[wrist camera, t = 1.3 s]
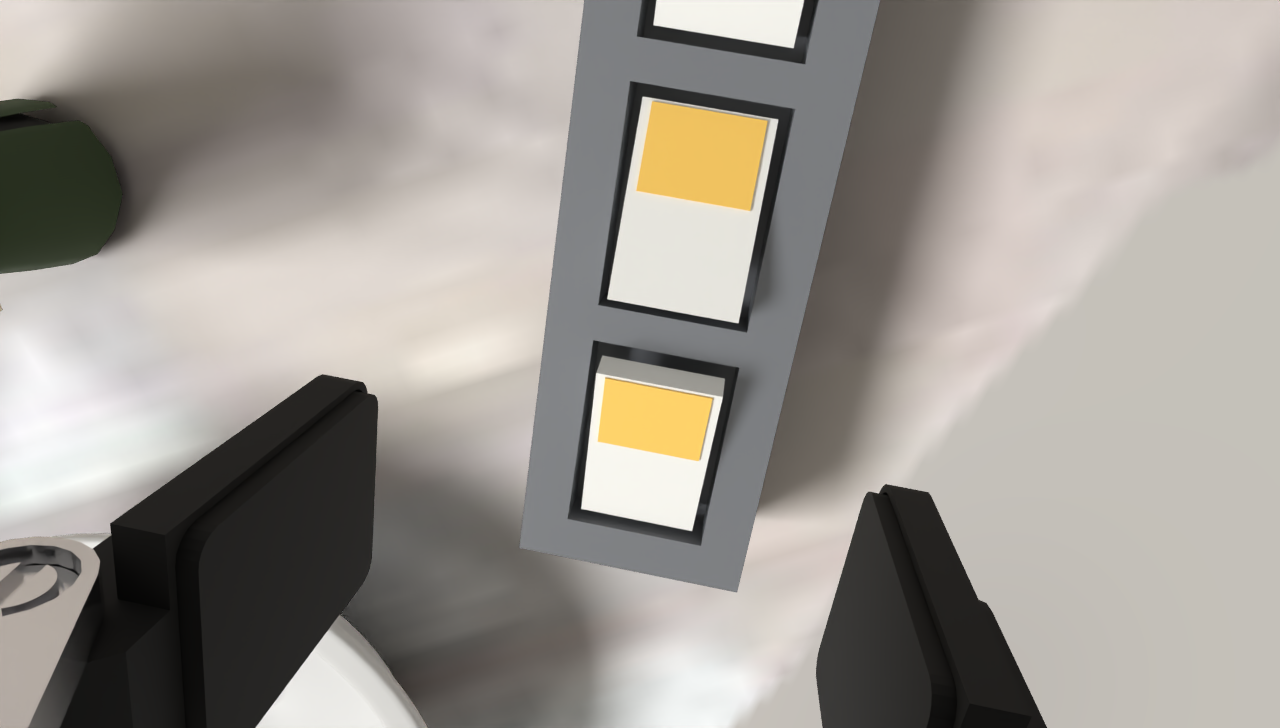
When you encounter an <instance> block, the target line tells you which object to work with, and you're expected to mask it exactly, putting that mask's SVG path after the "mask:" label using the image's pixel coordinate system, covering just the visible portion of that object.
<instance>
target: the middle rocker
mask: <svg viewBox="0 0 1280 728" xmlns="http://www.w3.org/2000/svg"><path fill="white" fill-rule="evenodd" d="M777 125H778V119H772V118H767V117H761V116H755V115H749V114H743V113H737V112H731V111H725V110H720V109H714V108H708V107H702V106H696V105H690V104H684V103H678V102H672V101H667V100H661V99H655V98H649V97H643V98H642V104H641V109H640V115H639V121H638V127H637V132H636V138H635V144H634V149H633V155H632V161H631V166H630V172H629V178H628V183H627V189H626V195H625V201H624V206H623V212H622V218H621V223H620V229H619V235H618V240H617V246H616V252H615V257H614V263H613V269H612V275H611V280H610V286H609V292H608V297H607V299H609V300H614V301H620V302H625V303H631V304H636V305H641V306H647V307H652V308H658V309H663V310H668V311H674V312H679V313H685V314H690V315H695V316H701V317H706V318H712V319H717V320H722V321H728V322H733V323H739V318H740V313H741V308H742V303H743V298H744V293H745V287H746V282H747V277H748V272H749V267H750V262H751V257H752V252H753V247H754V242H755V237H756V231H757V226H758V221H759V216H760V211H761V206H762V201H763V196H764V191H765V186H766V181H767V176H768V170H769V165H770V160H771V155H772V150H773V145H774V140H775V135H776V130H777Z"/></svg>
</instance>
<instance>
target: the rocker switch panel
mask: <svg viewBox="0 0 1280 728" xmlns="http://www.w3.org/2000/svg"><path fill="white" fill-rule="evenodd" d="M879 3H880V0H804V3H803V8H802V12H801V17H800V21H799V26H798V30H797V35H796V39H795V44H794V48H789V47H783V46H777V45H771V44H764V43H758V42H752V41H746V40H740V39H734V38H728V37H722V36H716V35H710V34H704V33H698V32H692V31H686V30H680V29H673V28H667V27H661V26H655V25H654V16H655V8H656V0H584V8H583V16H582V25H581V33H580V42H579V50H578V58H577V67H576V75H575V84H574V92H573V100H572V109H571V117H570V126H569V134H568V142H567V151H566V159H565V167H564V176H563V184H562V193H561V201H560V209H559V218H558V226H557V235H556V243H555V251H554V260H553V268H552V277H551V285H550V293H549V302H548V310H547V319H546V327H545V335H544V344H543V352H542V361H541V369H540V377H539V386H538V394H537V403H536V411H535V419H534V428H533V436H532V445H531V453H530V461H529V470H528V478H527V487H526V495H525V503H524V512H523V520H522V529H521V537H520V545H519V548H522V549H527V550H532V551H537V552H542V553H546V554H551V555H556V556H561V557H566V558H571V559H576V560H581V561H586V562H590V563H595V564H600V565H605V566H610V567H615V568H620V569H625V570H630V571H634V572H639V573H644V574H649V575H654V576H659V577H664V578H669V579H674V580H678V581H683V582H688V583H693V584H698V585H703V586H708V587H713V588H718V589H722V590H727V591H732V592H737V590H738V586H739V582H740V578H741V574H742V570H743V566H744V561H745V557H746V553H747V549H748V545H749V541H750V537H751V532H752V528H753V524H754V520H755V516H756V512H757V508H758V504H759V499H760V495H761V491H762V487H763V483H764V479H765V475H766V470H767V466H768V462H769V458H770V454H771V450H772V446H773V442H774V437H775V433H776V429H777V425H778V421H779V417H780V413H781V408H782V404H783V400H784V396H785V392H786V388H787V384H788V380H789V375H790V371H791V367H792V363H793V359H794V355H795V351H796V346H797V342H798V338H799V334H800V330H801V326H802V322H803V318H804V313H805V309H806V305H807V301H808V297H809V293H810V289H811V284H812V280H813V276H814V272H815V268H816V264H817V260H818V256H819V251H820V247H821V243H822V239H823V235H824V231H825V227H826V222H827V218H828V214H829V210H830V206H831V202H832V198H833V194H834V189H835V185H836V181H837V177H838V173H839V169H840V165H841V160H842V156H843V152H844V148H845V144H846V140H847V136H848V132H849V127H850V123H851V119H852V115H853V111H854V107H855V103H856V98H857V94H858V90H859V86H860V82H861V78H862V74H863V70H864V65H865V61H866V57H867V53H868V49H869V45H870V41H871V36H872V32H873V28H874V24H875V20H876V16H877V12H878V8H879ZM643 97H649V98H655V99H661V100H667V101H672V102H678V103H684V104H690V105H696V106H702V107H708V108H714V109H720V110H725V111H731V112H737V113H743V114H749V115H755V116H761V117H767V118H772V119H778V125H777V130H776V135H775V140H774V145H773V150H772V155H771V160H770V165H769V170H768V176H767V181H766V186H765V191H764V196H763V201H762V206H761V211H760V216H759V221H758V226H757V231H756V237H755V242H754V247H753V252H752V257H751V262H750V267H749V272H748V277H747V282H746V287H745V293H744V298H743V303H742V308H741V313H740V318H739V323H733V322H728V321H722V320H717V319H712V318H706V317H701V316H695V315H690V314H685V313H679V312H674V311H668V310H663V309H658V308H652V307H647V306H641V305H636V304H631V303H625V302H620V301H614V300H609V299H607V297H608V292H609V286H610V280H611V275H612V269H613V263H614V257H615V252H616V246H617V240H618V235H619V229H620V223H621V218H622V212H623V206H624V201H625V195H626V189H627V183H628V178H629V172H630V166H631V161H632V155H633V149H634V144H635V138H636V132H637V127H638V121H639V115H640V109H641V104H642V98H643ZM602 355H603V356H608V357H613V358H619V359H624V360H629V361H634V362H640V363H645V364H650V365H655V366H661V367H666V368H671V369H677V370H682V371H687V372H692V373H698V374H703V375H708V376H714V377H719V378H724V379H725V382H724V391H723V399H722V403H721V407H720V412H719V416H718V420H717V425H716V429H715V433H714V438H713V442H712V446H711V451H710V455H709V460H708V464H707V468H706V473H705V477H704V481H703V486H702V490H701V494H700V499H699V503H698V507H697V512H696V516H695V520H694V525H693V529H692V531H689V530H684V529H679V528H674V527H669V526H664V525H659V524H654V523H649V522H644V521H639V520H634V519H629V518H624V517H619V516H614V515H609V514H604V513H599V512H594V511H589V510H584V509H581V506H582V497H583V488H584V479H585V470H586V461H587V452H588V443H589V434H590V425H591V416H592V408H593V399H594V390H595V381H596V372H597V370H598V367H599V364H600V361H601V358H602Z"/></svg>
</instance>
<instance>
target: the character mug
mask: <svg viewBox="0 0 1280 728" xmlns="http://www.w3.org/2000/svg"><path fill="white" fill-rule="evenodd" d="M55 107H57V106H55V105H54V104H52V103H51V102H46V101H35V100H24V99H12V100H5V101H0V274H2V273H12V272H22V271H31V270H38V269H44V268H51V267H57V266H63V265H69V264H74V263H76V262H79V261H81V260H84V259H86V258H89V257H91V256H94V255H96V254H98V253H99V251H100V250H101V248H102V247H103V245H104V244H105V243H106V241H107V240H108V238H109V237H110V235H111V234H112V233H113V231H114V230H115V226H116V222H117V217H118V213H119V208H120V204H121V199H122V195H123V194H122V190H121V187H120V184H119V180H118V177H117V174H116V171H115V167H114V164H113V161H112V158H111V156H110V154H109V153H108V152H107V150H106V149H105V148H104V146H103V145H102V144H101V142H100V141H99V140H98V138H97V137H96V136H95V134H94V133H93V132H92V130H91V129H90V128H89V126H88V125H86V124H84V123H83V122H81V121H79V120H77V121H69V122H61V123H52V124H49V123H48V122H47V121H43V120H40V119H36V118H33V117H30V116H26V115H23V114H20V113H24V112H30V111H36V110H43V109H49V108H55ZM2 310H3V309H2V307H1V305H0V311H2Z"/></svg>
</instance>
